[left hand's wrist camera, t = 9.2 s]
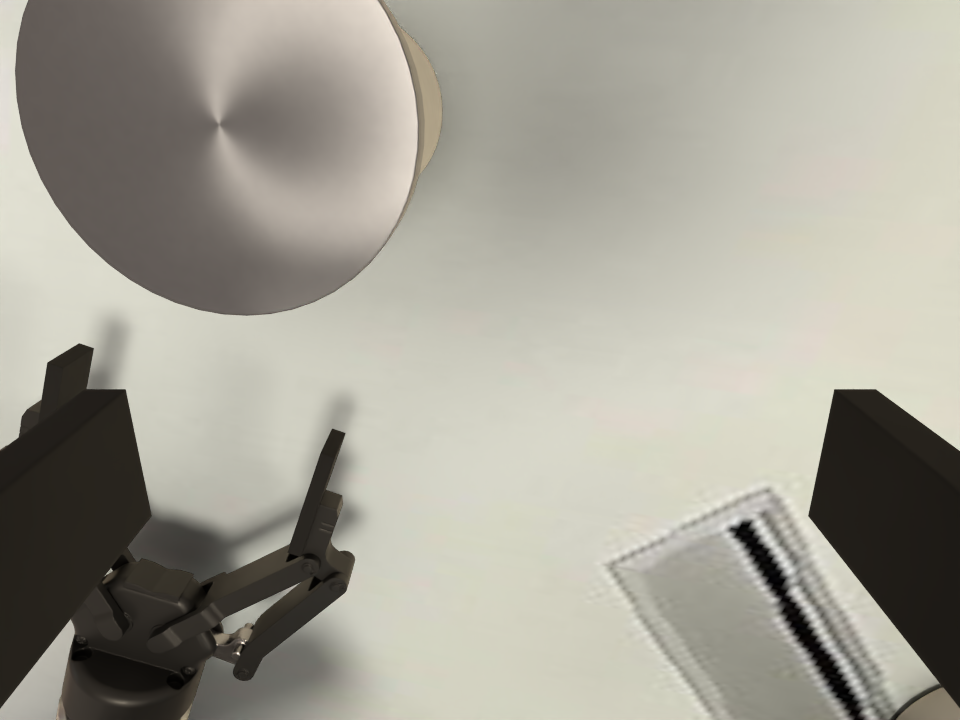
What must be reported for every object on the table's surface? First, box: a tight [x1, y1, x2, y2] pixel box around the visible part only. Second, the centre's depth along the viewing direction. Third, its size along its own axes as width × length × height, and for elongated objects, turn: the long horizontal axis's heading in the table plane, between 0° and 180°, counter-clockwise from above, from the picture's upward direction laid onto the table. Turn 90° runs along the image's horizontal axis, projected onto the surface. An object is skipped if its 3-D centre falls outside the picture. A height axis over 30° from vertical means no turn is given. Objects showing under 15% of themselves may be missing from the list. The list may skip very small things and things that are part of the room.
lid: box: [15, 0, 425, 316], centre depth 18 cm, size 10×10×2 cm
